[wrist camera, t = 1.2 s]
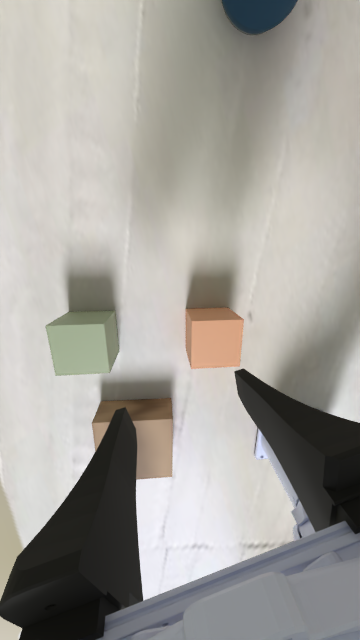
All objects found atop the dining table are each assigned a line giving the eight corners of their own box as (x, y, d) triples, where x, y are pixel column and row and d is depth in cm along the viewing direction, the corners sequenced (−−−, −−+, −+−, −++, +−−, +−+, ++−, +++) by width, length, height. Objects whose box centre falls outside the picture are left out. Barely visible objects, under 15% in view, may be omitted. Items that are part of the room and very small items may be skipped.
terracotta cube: (227, 307, 25) (243, 319, 20) (225, 346, 26) (239, 366, 21) (185, 308, 24) (191, 321, 19) (185, 347, 26) (191, 368, 21)
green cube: (115, 310, 23) (103, 323, 19) (119, 350, 25) (109, 372, 20) (69, 311, 23) (45, 325, 18) (76, 352, 24) (55, 375, 20)
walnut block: (171, 396, 28) (172, 418, 24) (170, 449, 30) (172, 476, 26) (101, 399, 27) (92, 423, 23) (107, 453, 30) (99, 482, 26)
